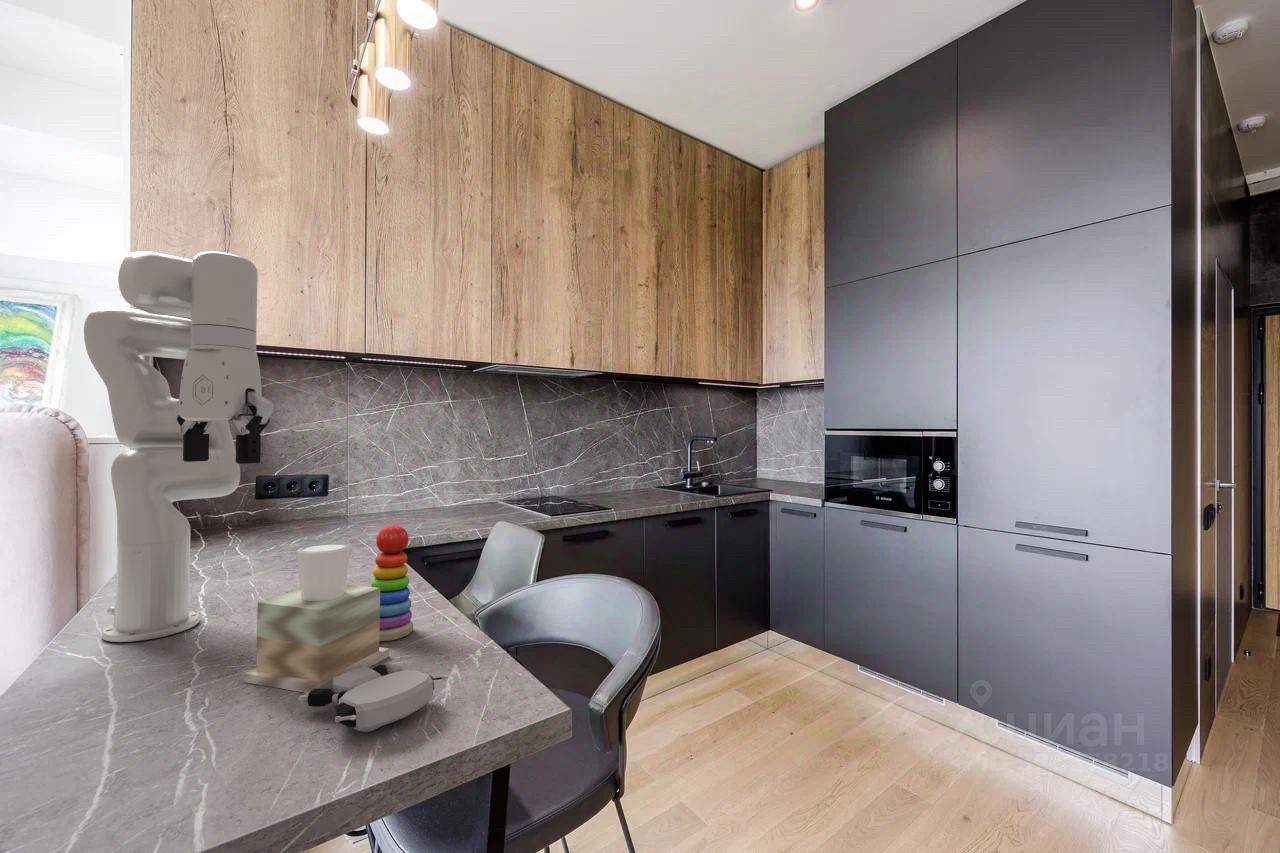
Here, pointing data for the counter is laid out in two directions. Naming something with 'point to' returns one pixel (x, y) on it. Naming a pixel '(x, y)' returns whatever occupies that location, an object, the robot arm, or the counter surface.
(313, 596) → the shot glass
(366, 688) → the robot toy
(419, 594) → the counter surface
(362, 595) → the patterned box
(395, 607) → the stacking toy
